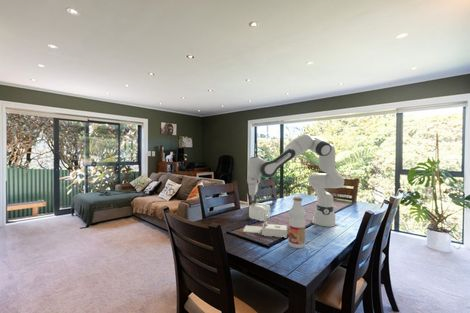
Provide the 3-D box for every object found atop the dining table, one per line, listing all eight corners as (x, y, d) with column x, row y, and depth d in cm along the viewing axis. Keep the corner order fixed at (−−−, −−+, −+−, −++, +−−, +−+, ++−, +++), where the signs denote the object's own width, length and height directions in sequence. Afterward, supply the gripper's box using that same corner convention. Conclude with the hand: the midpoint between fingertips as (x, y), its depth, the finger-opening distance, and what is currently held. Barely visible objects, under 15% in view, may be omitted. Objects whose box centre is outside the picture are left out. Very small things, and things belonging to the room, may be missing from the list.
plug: (250, 205, 158) (250, 194, 158) (261, 206, 156) (261, 195, 156) (249, 206, 153) (249, 195, 153) (260, 207, 152) (260, 196, 152)
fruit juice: (306, 249, 127) (307, 200, 126) (289, 248, 127) (291, 199, 127) (302, 242, 136) (303, 196, 136) (287, 241, 137) (288, 196, 136)
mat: (245, 226, 163) (245, 225, 163) (262, 227, 160) (262, 226, 160) (242, 232, 151) (242, 231, 151) (260, 233, 149) (260, 232, 149)
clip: (263, 225, 149) (263, 215, 149) (264, 220, 160) (264, 210, 160) (267, 226, 148) (267, 215, 148) (267, 221, 159) (268, 211, 159)
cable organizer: (270, 219, 181) (271, 205, 180) (263, 222, 173) (263, 207, 173) (256, 215, 191) (256, 202, 190) (248, 218, 183) (248, 204, 183)
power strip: (262, 230, 155) (263, 222, 155) (286, 232, 151) (286, 224, 151) (261, 235, 146) (261, 227, 146) (286, 237, 143) (287, 229, 142)
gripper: (251, 177, 166) (251, 196, 166) (247, 181, 146) (246, 202, 146) (259, 178, 164) (259, 196, 165) (256, 181, 144) (256, 203, 145)
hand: (253, 199), depth 155 cm, fingers closed on plug, 5 cm apart
